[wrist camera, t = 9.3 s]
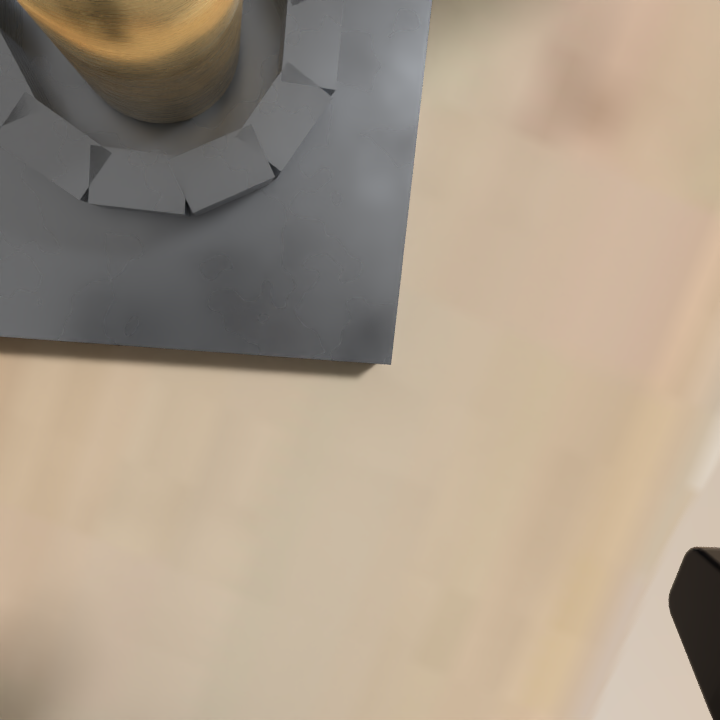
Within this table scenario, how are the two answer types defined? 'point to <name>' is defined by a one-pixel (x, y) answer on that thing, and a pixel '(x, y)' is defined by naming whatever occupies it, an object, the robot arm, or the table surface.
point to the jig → (218, 191)
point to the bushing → (147, 51)
